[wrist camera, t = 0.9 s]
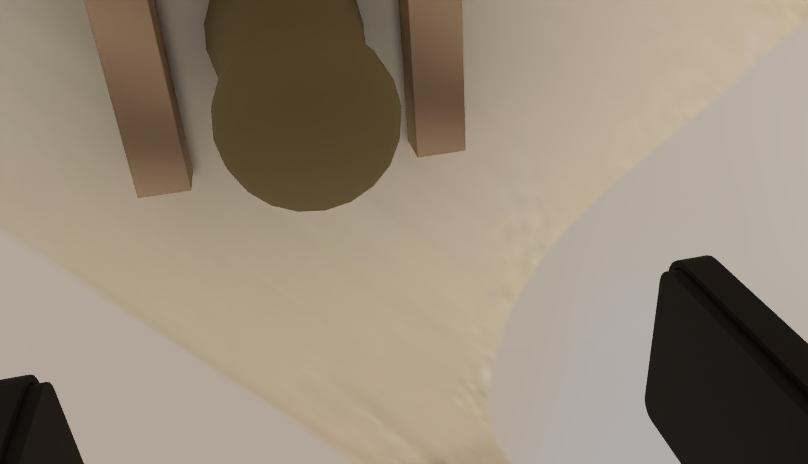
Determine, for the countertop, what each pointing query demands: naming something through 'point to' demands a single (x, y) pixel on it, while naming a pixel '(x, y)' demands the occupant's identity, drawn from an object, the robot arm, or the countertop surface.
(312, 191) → the cork
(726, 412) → the robot arm
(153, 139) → the walnut track
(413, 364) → the countertop surface
